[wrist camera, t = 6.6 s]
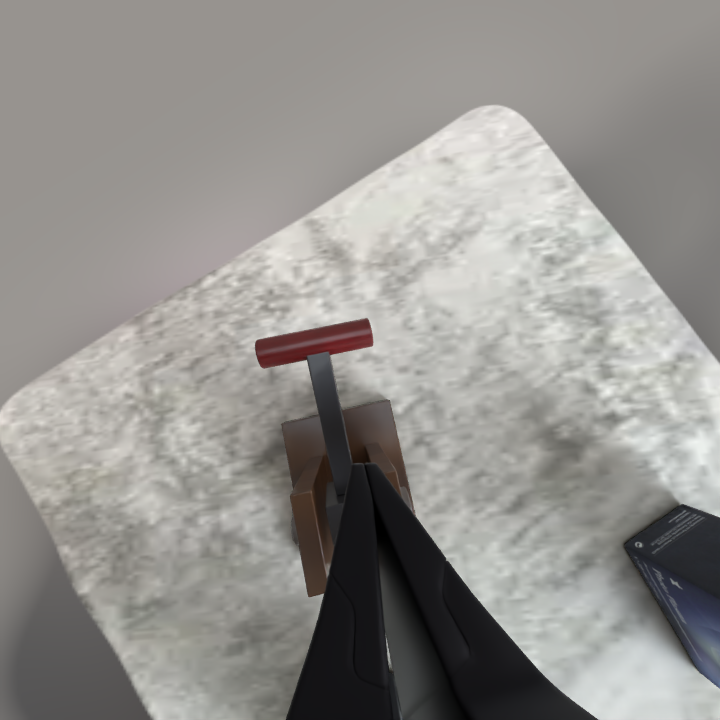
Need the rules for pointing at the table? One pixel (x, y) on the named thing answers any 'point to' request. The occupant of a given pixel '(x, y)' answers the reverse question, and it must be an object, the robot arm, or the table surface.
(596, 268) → the table surface
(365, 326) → the crank
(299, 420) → the bracket
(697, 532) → the small box
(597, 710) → the table surface
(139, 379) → the table surface
